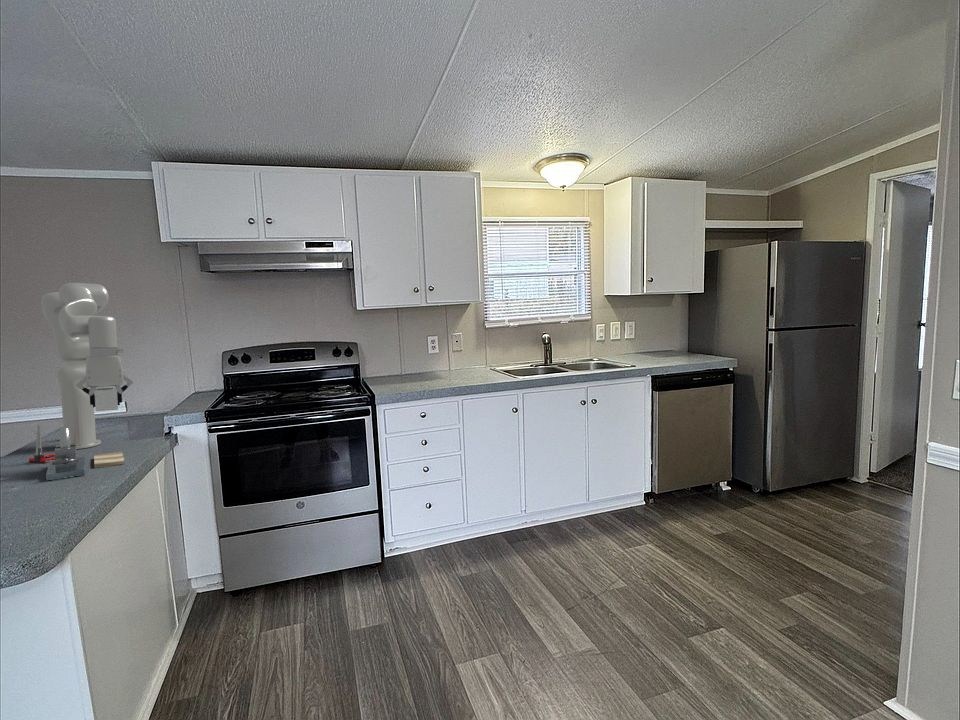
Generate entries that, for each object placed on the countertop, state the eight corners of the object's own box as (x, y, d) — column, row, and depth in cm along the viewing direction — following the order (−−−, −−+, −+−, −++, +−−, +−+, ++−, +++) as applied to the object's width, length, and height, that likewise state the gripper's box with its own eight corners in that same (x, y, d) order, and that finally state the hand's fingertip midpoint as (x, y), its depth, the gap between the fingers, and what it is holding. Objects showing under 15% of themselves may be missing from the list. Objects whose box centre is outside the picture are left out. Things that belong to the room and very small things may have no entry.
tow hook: (53, 456, 178) (25, 462, 169) (53, 420, 178) (25, 424, 169) (73, 457, 177) (47, 464, 168) (73, 421, 176) (47, 425, 167)
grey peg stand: (50, 467, 164) (47, 425, 163) (85, 462, 169) (82, 421, 168) (46, 481, 150) (43, 435, 148) (84, 475, 155) (82, 431, 154)
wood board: (94, 458, 174) (94, 455, 174) (122, 455, 179) (122, 451, 179) (94, 468, 163) (94, 464, 163) (124, 464, 168) (124, 460, 168)
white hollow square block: (95, 409, 170) (94, 388, 169) (117, 407, 174) (116, 387, 173) (95, 411, 165) (94, 390, 165) (117, 409, 169) (116, 389, 168)
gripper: (133, 351, 176) (136, 402, 178) (70, 353, 166) (74, 407, 167) (135, 352, 170) (138, 404, 172) (70, 354, 160) (73, 410, 161)
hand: (106, 405), depth 169 cm, fingers closed on white hollow square block, 6 cm apart
